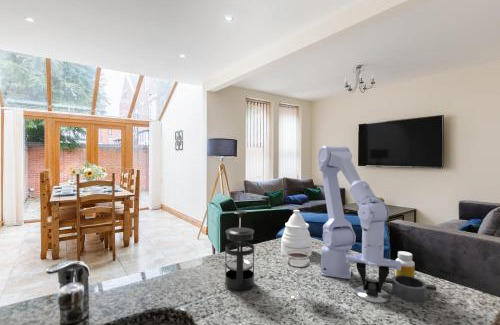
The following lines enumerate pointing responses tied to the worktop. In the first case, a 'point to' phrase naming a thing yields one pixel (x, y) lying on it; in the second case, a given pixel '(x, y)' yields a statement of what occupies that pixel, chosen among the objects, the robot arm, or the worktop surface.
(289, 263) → the wineglass
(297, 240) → the honey pot
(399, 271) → the supplement bottle
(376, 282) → the lid
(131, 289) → the worktop surface
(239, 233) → the french press
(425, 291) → the pot
